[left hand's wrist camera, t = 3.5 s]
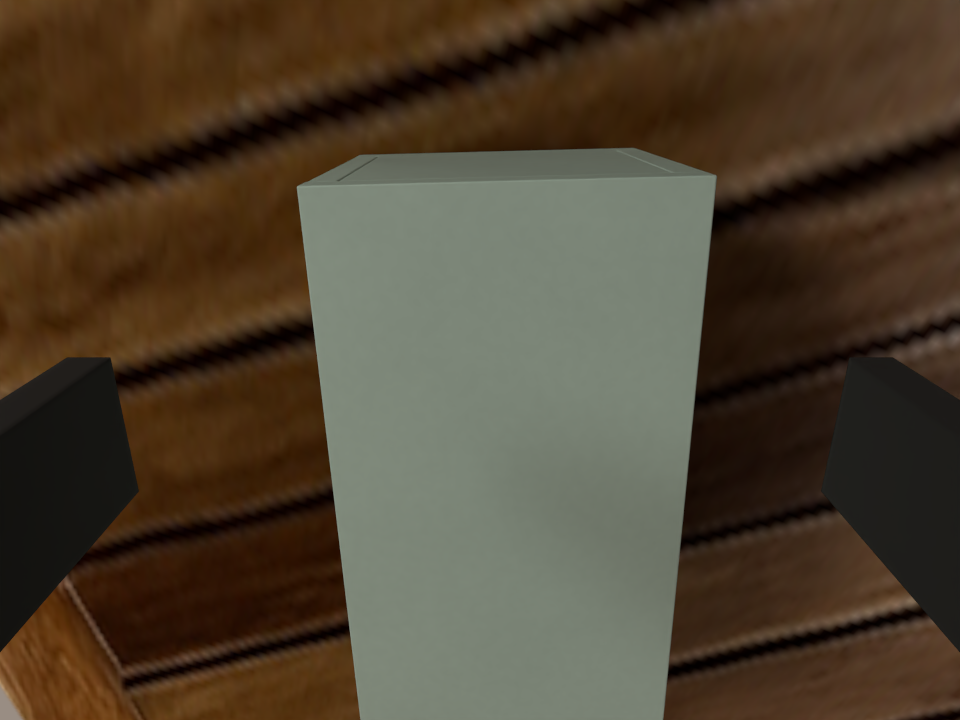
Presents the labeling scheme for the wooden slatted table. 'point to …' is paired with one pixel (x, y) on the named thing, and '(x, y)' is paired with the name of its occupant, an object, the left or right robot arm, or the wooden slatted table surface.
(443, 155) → the cabinet
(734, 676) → the wooden slatted table surface
